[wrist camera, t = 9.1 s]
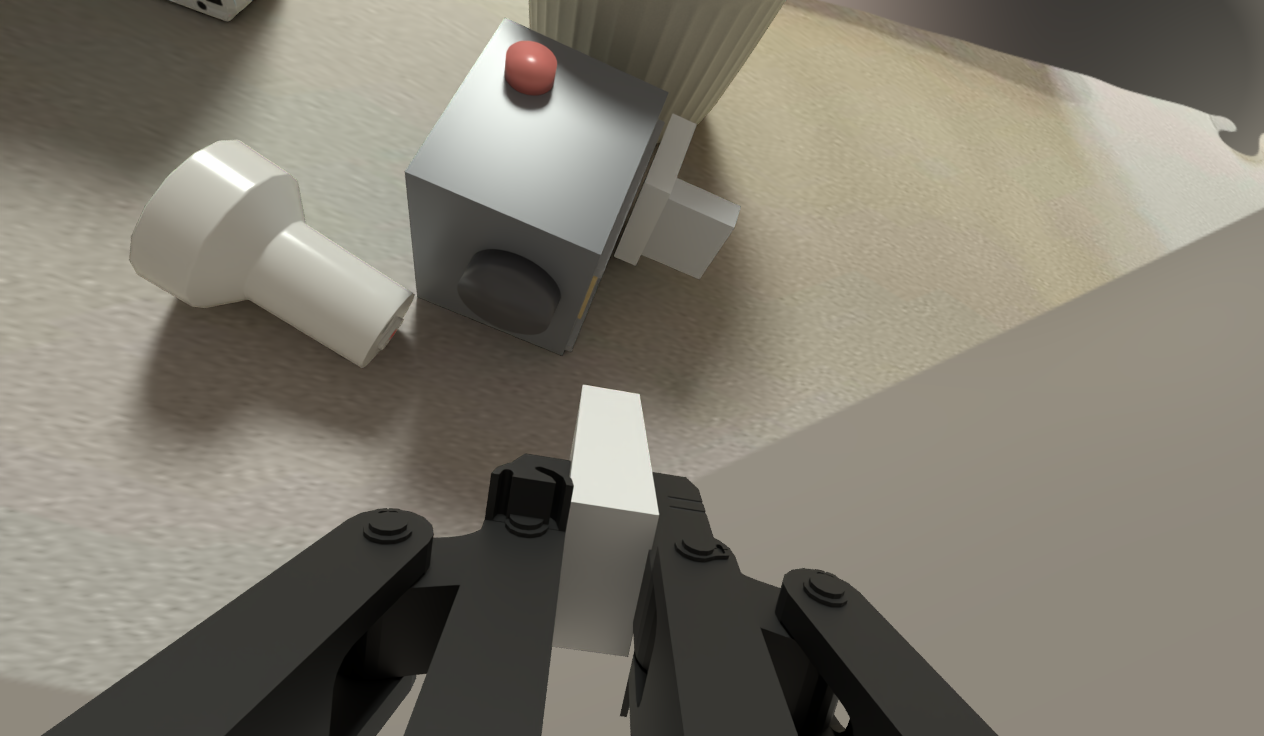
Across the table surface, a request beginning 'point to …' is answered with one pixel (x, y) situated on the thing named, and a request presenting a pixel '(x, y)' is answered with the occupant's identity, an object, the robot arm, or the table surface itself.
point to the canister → (663, 42)
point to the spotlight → (261, 252)
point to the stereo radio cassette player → (216, 7)
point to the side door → (676, 212)
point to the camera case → (529, 185)
